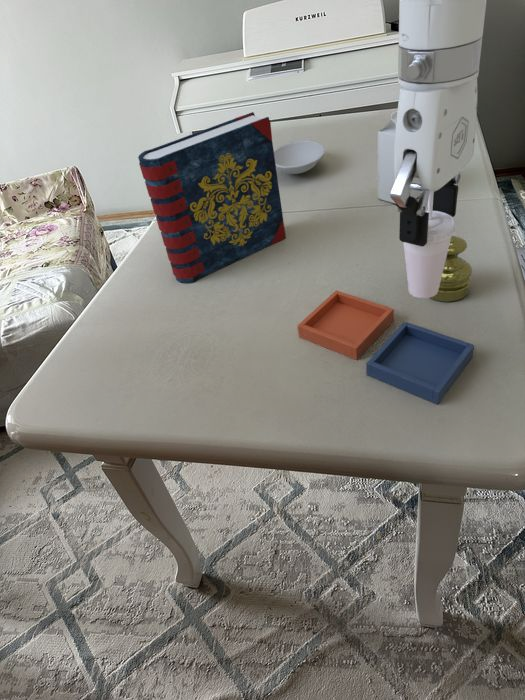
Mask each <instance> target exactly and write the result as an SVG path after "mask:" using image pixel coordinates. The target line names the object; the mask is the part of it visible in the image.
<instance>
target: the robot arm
mask: <svg viewBox="0 0 525 700" xmlns="http://www.w3.org/2000/svg"><path fill="white" fill-rule="evenodd" d="M487 1H488V0H399V3H398V5H399V6H398V8H399V9H398V11H399V12H398V61H397V63H398V64H397V66H398V67H397V69H398V70H397V83H398V85H399V86H400V89H399V96H398V102H397V103H398V105H397V110H396V111H397V120H396V132H395V147H394V176H395V183H394V185H393V188H392V190H391V193H390V197H391V199H392V200H393V201H394V202H395V203H396V204H395V203H394V204H395V206H396V207H397V211H398V212H399V231H400V232H399V231H398V232H399V235H398V237H399V241H400V242H402V243H403V242H405V243H409V244H414V245H418V246H422V247H423V246H425V245H426V243H427V236H428V220H429V213H427V212H425V211H427V208H428V198H429V194H430V191H433V192H434V195H433V210H432V211H440V212H444V213H447V214H449V215H450V216H452V217H453V218H454V217H455V216H456V214H457V204H458V194H459V185H458V184H459V183H460V181H461V177H462V173H461V171H462V170H463V169H465V168H466V167H467V165H468V164H470V162H471V161H472V159H473V157H474V154H475V153H474V152H475V143H476V131H477V116H478V115H477V113H478V77H479V73H480V64H481V54H482V46H483V34H484V28H485V27H484V25H485V19H486V18H485V17H486V9H487ZM414 177H415V178H419V179H420V182H421V184H417V183H412V180H413V178H414ZM411 189H414V190H419V191H421V193H420V196H419V197H418V200H417V198H416V199H415V198H414V197H411V196H410V191H411Z"/></svg>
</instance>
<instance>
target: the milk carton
mask: <svg viewBox="0 0 525 700" xmlns="http://www.w3.org/2000/svg"><path fill="white" fill-rule="evenodd" d="M397 111H398V110H396V111H394V112H391V114H390V120H389V121H388V122H386V124H384V125H383V127H381V128H380V129H379V130H378V131H377V200H381V201H384V202H388V203H391V204H395V205H396V203H395V202H394V201H393V200H392V199H391V197H390V193H391V190H392V188H393V185H394V183H395V176H394V147H395V132H396V120H397ZM412 183H417V184H421V182H420V179H419V178H415V177H414V178H413V180H412ZM420 193H421V191H419V190H414V189H411V191H410V196H411V197H414V198H415V199H416V200H417V198H419V197H420Z"/></svg>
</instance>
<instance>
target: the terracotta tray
mask: <svg viewBox="0 0 525 700" xmlns="http://www.w3.org/2000/svg"><path fill="white" fill-rule="evenodd" d="M394 314H395V309H394V308H392V307H389V306H387V305H383V304H380V303H377V302H374V301H372V300H368V299H365V298H361V297H358V296H356V295H352V294H350V293H346V292H343V291H340V290H338V289H337V290H334V291H333V292H332V293H331V294H330V295H329V296H328V297H327V298H326V299H324V300H323V302H322V303H320V304H319V305H318V306H317V307H316V308H315V309H313V311H311V313H309V314H308V315H307V316H306V317H305V318H304V319H303V320H302V321H300V323H298V324H297V333H298V337H299V338H301V339H303V340H306V341H309V342H311V343H313V344H315V345H319V346H321V347H323V348H325V349H328V350H331V351H333V352H336V353H338V354H341V355H343V356H346V357H348V358H350V359H353V360H356V361H358V359H360V357H361V356H362V355H363V354H365V352H366V351H367V350H368V349H369V348H370V347H371V346H372V344H373V343H374V342H376V340H377V339H379V337H380V336H381V335H382V334H383V333H384V332H385V330H386V329H388V328H389V326H390V325H391V324H392V323H393V322H394V320H395V319H394V318H395V317H394V316H395V315H394Z"/></svg>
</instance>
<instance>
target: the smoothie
mask: <svg viewBox="0 0 525 700" xmlns="http://www.w3.org/2000/svg"><path fill="white" fill-rule="evenodd" d="M433 195H434V192H433V191H430V194H429V198H428V202H427V210H426V211H425V212H427V213H429V220H428V236H427V243H426V245H425V246H423V247H422V246H418V245H414V244H409V243H405V242H402V244H403V251H404V252H403V253H404V261H405V270H406V278H407V289H408V293H409V294H410V295H411V296H412V297H414V298H418V299H429V298H430V297H433V296H435V295H436V294H437V293H438V290H439V286H440V282H441V277H442V273H443V269H444V265H445V261H446V257H447V252H448V248H449V245H450V240H451V236H455V233H456V219H455V218H454V217H452V216H450V215H449V214H447V213H444V212H440V211H432V210H433ZM398 232H400V230H399V231H398ZM430 299H431V298H430Z"/></svg>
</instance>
